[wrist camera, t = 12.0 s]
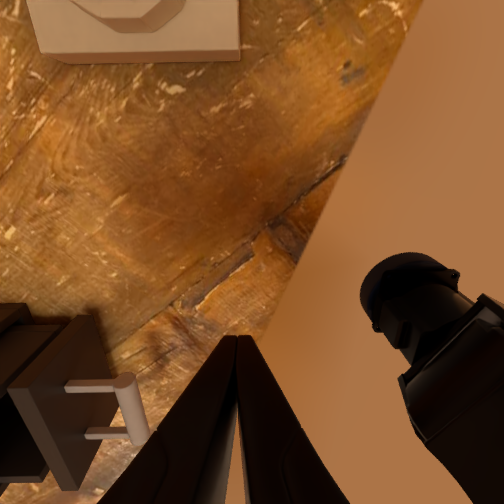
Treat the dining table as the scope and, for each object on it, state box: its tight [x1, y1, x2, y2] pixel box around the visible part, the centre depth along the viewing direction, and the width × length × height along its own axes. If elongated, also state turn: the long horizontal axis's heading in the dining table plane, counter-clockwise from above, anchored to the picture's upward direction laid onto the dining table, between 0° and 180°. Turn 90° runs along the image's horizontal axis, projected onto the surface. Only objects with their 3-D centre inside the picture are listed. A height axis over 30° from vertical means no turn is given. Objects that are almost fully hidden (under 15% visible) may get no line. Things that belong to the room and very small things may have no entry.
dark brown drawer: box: [0, 315, 150, 491], centre depth 20 cm, size 17×10×7 cm, turn 91°
